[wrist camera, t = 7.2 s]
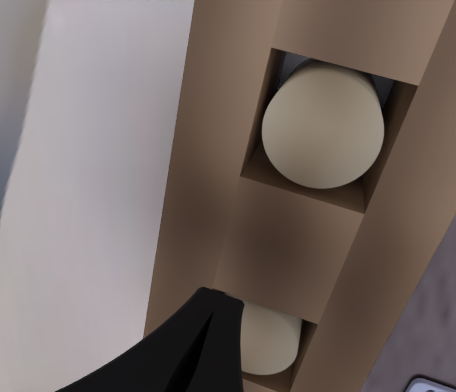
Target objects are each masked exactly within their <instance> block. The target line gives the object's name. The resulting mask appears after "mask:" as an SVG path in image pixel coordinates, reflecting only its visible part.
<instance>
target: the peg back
mask: <svg viewBox="0 0 456 392" xmlns="http://www.w3.org/2000/svg"><path fill="white" fill-rule="evenodd" d="M224 294H225V295H228V296H231V297H234V298H236V299H239V300H242V301H243V303H244V304H245V306H244V309H243V314H242V322H241V369H242V371H244V372H247V373H251V374H257V375H270V374H275V373H278V372H281V371H283V370H285V369H286V368H288V367H289V366H290V365H291V364H292V363H293V362H294V360H295V358H296V356H297V352H298V345H299V339H300V333H301V326H302V320H303V319H301V318H298V317H295V316H292V315H289V314H286V313H284V312H281V311H278V310H275V309H272V308H269V307H266V306H263V305H260V304H257V303H255V302H252V301H249V300H246V299H243V298H240V297H237V296H234V295H231V294H228V293H226V292H225V293H224Z"/></svg>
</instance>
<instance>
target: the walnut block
mask: <svg viewBox="0 0 456 392" xmlns="http://www.w3.org/2000/svg"><path fill="white" fill-rule="evenodd" d="M286 51H287V52H291V53H294V54H298V55H302V56H306V57H310V58H314V59H317V60H321V61H325V62H329V63H333V64H337V65H341V66H344V67H348V68H352V69H356V70H360V71H364V72H367V73H371V74H375V75H379V76H383V77H387V78H390V79H394V80H395V81H394V83H393V86H392V88H391V91H390V94H389V96H388V99H387V101H386V104H385V106H384V109H383V111H382V117H383V123H384V138H383V143H382V146H381V149H380V152H379V154H378V156H377V158H376V160H375V161H374V163H373V164H372V165H371V166H370V168H369V169H368V170H367V171H366V172H365V173H363V174H362V175H361V176H360V177H358V178H357V179H355V180H353V181H351V182H349V183H347V184H345V185H342V186H338V187H334V188H326V189H318V188H310V187H306V186H303V185H300V184H297V183H295V182H293V181H291V180H289V179H288V178H286V177H285V176H284V175H283V174H281V173H280V172H279V171H278V170H277V169H276V168H275V167H274V165H273V164H272V162H271V161H270V159H269V157H268V155H267V154H266V151H265V148H264V144H263V140H262V124H263V118H264V115H265V112H266V110H267V107H268V105H269V103H270V102H271V100H272V99H273V97H274V96H275V93H276V90H277V86H278V82H279V78H280V74H281V70H282V67H283V63H284V59H285V55H286ZM455 214H456V0H195V2H194V8H193V15H192V21H191V28H190V34H189V41H188V47H187V54H186V61H185V67H184V74H183V80H182V87H181V93H180V100H179V106H178V113H177V119H176V126H175V133H174V139H173V146H172V152H171V159H170V165H169V172H168V178H167V185H166V191H165V198H164V205H163V211H162V218H161V224H160V231H159V237H158V244H157V250H156V257H155V264H154V270H153V277H152V283H151V290H150V296H149V303H148V309H147V316H146V322H145V329H144V336H143V339H144V338H145V337H146V336H148V335H149V334H150V333H152V332H153V331H154V330H155V329H157V328H158V327H159V326H160V325H161V324H163V323H164V322H165V321H166V320H167V319H168V318H169V317H171V316H172V315H173V314H174V313H175V312H176V311H177V310H178V309H179V308H180V307H182V306H183V305H184V304H185V303H186V302H187V301H188V300H189V299H190V297H191V296H192V295H193V294H194V293H195V292H196V291H197V289H198V288H200V287H206V288H209V289H212V290H214V291H217V292H220V293H224V292H226V293H228V294H231V295H234V296H237V297H240V298H243V299H246V300H249V301H252V302H255V303H257V304H260V305H263V306H266V307H269V308H272V309H275V310H278V311H281V312H284V313H286V314H289V315H292V316H295V317H298V318H301V319H303V320H302V326H301V333H300V339H299V345H298V352H297V356H296V358H295V360H294V362H293V363H292V364H291V365H290V366H289V367H288V368H286V369H285V370H283V371H281V372H278V373H275V374H270V375H257V374H251V373H247V372H244V371H242V380H243V390H244V392H360V390H361V388H362V386H363V384H364V382H365V381H366V379H367V377H368V375H369V373H370V371H371V369H372V368H373V366H374V364H375V362H376V360H377V358H378V357H379V355H380V353H381V351H382V349H383V347H384V345H385V344H386V342H387V340H388V338H389V336H390V334H391V333H392V331H393V329H394V327H395V325H396V323H397V321H398V320H399V318H400V316H401V314H402V312H403V310H404V308H405V307H406V305H407V303H408V301H409V299H410V297H411V296H412V294H413V292H414V290H415V288H416V286H417V284H418V283H419V281H420V279H421V277H422V275H423V273H424V272H425V270H426V268H427V266H428V264H429V262H430V260H431V259H432V257H433V255H434V253H435V251H436V249H437V247H438V246H439V244H440V242H441V240H442V238H443V236H444V235H445V233H446V231H447V229H448V227H449V225H450V223H451V222H452V220H453V218H454V216H455Z"/></svg>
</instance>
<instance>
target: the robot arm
mask: <svg viewBox="0 0 456 392" xmlns="http://www.w3.org/2000/svg"><path fill="white" fill-rule="evenodd" d="M244 306H245V304H244V303H243V301H242V300H239V299H236V298H234V297H231V296H228V295H225V294H223V293H220V292H217V291H214V290H212V289H209V288H206V287H200V288H198V289H197V291H196V292H195V293H194V294H193V295H192V296H191V297H190V299H189V300H188V301H187V302H186V303H185V304H184V305H183V306H182V307H180V308H179V309H178V310H177V311H176V312H175V313H174V314H173V315H172V316H171V317H169V318H168V319H167V320H166V321H165V322H164V323H163V324H161V325H160V326H159V327H158V328H157V329H155V330H154V331H153V332H152V333H150V334H149V335H148V336H146V337H145V338H144V339H142V340H141V341H140V342H138V343H137V344H136V345H134V346H133V347H132V348H130V349H129V350H127V351H126V352H124V353H123V354H121V355H120V356H118V357H117V358H115V359H114V360H112V361H111V362H109V363H107V364H106V365H104V366H102V367H101V368H99V369H97V370H96V371H94V372H92V373H90V374H89V375H87V376H85V377H83V378H81V379H80V380H78V381H76V382H74V383H72V384H70V385H68V386H66V387H64V388H62V389H60V390H57V391H55V392H244V390H243V380H242V369H241V322H242V314H243V309H244ZM427 390H433V391H427ZM405 392H456V390H455V389H452V388H449V387H446V386H443V385H440V384H437V383H435V382H432V381H429V380H426V379H422V378H417V379H414V380H413V381H412V382H411V383H410V385H409V387H408V388H407V390H406V391H405Z"/></svg>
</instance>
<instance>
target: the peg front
mask: <svg viewBox="0 0 456 392" xmlns="http://www.w3.org/2000/svg"><path fill="white" fill-rule="evenodd" d="M383 138H384V123H383V117H382V112H381V108H380V103H379V98H378V94H377V89H376V86H375V83H374V80H373V78H372V76H371V75H370V73H367V72H364V71H360V70H356V69H352V68H348V67H344V66H341V65H337V64H333V63H329V62H325V61H321V60H317V59H314V58H310V59H308V60H306V61H304V62H303V63H301V64H300V65H299V66H298V67H296V68H295V69H294V71H293V72H292V73H291V74H290V75H289V77H288V78H287V80H286V81H285V82H284V84H283V85H282V86H281V88H280V89H279V91H278V92H277V93H276V95H275V96H274V97H273V99H272V100H271V102H270V103H269V105H268V107H267V110H266V112H265V115H264V118H263V124H262V140H263V144H264V148H265V151H266V154H267V155H268V157H269V159H270V161H271V162H272V164H273V165H274V167H275V168H276V169H277V170H278V171H279V172H280V173H281V174H283V175H284V176H285V177H286V178H288V179H289V180H291V181H293V182H295V183H297V184H300V185H303V186H306V187H310V188H318V189H326V188H334V187H338V186H342V185H345V184H347V183H349V182H351V181H353V180H355V179H357V178H358V177H360V176H361V175H362V174H363V173H365V172H366V171H367V170H368V169H369V168H370V166H371V165H372V164H373V163H374V161H375V160H376V158H377V156H378V154H379V152H380V149H381V146H382V143H383Z"/></svg>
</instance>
